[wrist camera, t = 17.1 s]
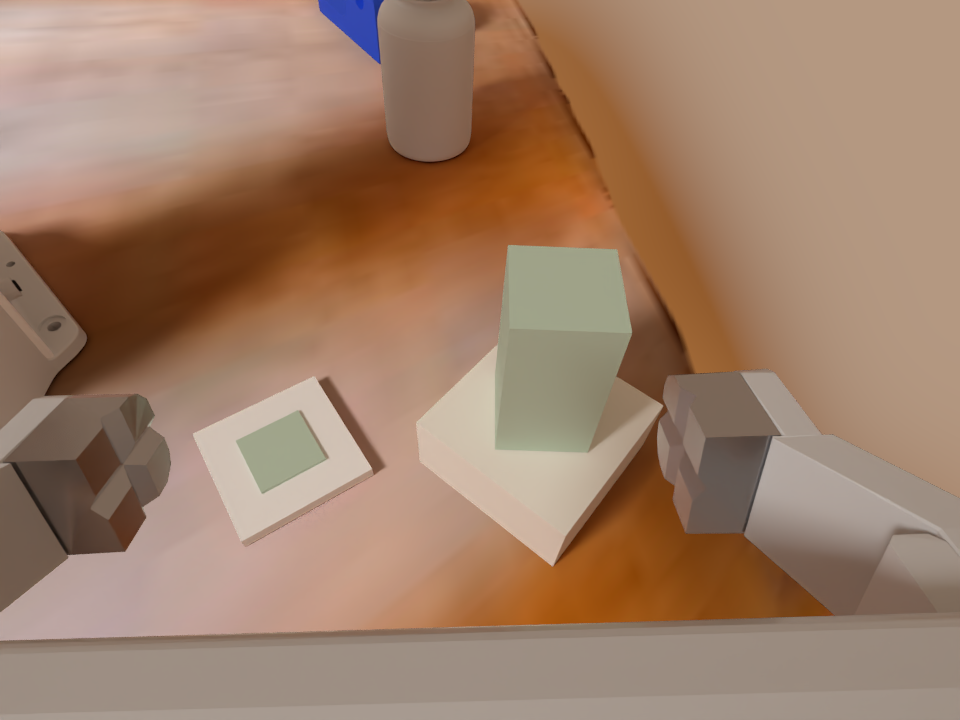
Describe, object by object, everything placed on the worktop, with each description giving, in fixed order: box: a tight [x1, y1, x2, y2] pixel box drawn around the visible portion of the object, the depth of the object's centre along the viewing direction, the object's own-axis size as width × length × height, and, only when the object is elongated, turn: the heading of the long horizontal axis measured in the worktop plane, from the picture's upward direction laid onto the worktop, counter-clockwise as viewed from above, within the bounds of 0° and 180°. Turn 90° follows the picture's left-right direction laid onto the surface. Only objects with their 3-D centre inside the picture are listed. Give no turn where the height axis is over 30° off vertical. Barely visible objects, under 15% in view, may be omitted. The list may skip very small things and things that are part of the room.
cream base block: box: [416, 344, 663, 566], centre depth 36 cm, size 10×10×5 cm
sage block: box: [495, 245, 632, 453], centre depth 30 cm, size 5×5×10 cm
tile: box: [193, 376, 374, 547], centre depth 36 cm, size 8×8×1 cm
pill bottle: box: [377, 0, 475, 162], centre depth 51 cm, size 8×8×15 cm
